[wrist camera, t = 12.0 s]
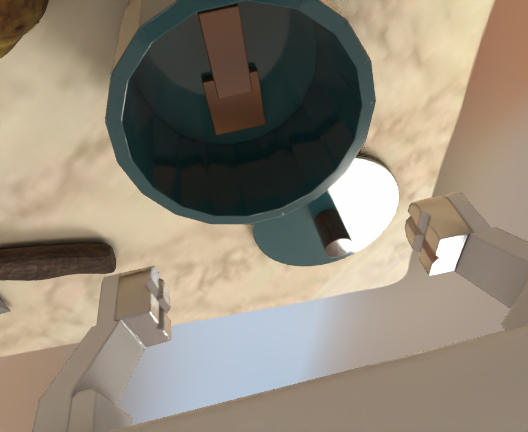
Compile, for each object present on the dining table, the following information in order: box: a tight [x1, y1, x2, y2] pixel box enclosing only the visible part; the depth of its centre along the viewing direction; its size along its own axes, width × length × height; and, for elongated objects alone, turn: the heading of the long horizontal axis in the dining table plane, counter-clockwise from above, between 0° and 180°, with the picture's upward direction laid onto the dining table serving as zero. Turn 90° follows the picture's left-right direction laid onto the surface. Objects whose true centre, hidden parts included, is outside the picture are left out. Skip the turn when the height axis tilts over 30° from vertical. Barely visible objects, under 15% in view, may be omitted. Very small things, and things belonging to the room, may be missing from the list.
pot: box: [105, 0, 376, 224], centre depth 24 cm, size 14×15×9 cm
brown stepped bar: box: [197, 3, 266, 135], centre depth 26 cm, size 10×4×4 cm, turn 7°
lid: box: [252, 155, 399, 266], centre depth 38 cm, size 15×15×5 cm
